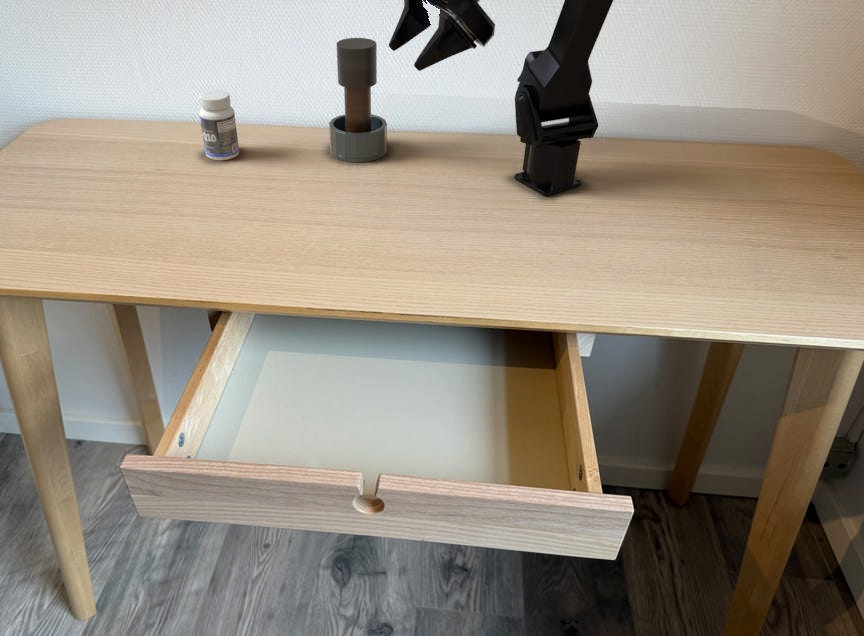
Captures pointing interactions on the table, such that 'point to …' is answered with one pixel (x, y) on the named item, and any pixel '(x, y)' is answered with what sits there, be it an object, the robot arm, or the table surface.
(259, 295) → the table surface
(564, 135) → the robot arm
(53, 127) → the table surface
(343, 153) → the cup
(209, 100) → the pill bottle
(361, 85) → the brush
